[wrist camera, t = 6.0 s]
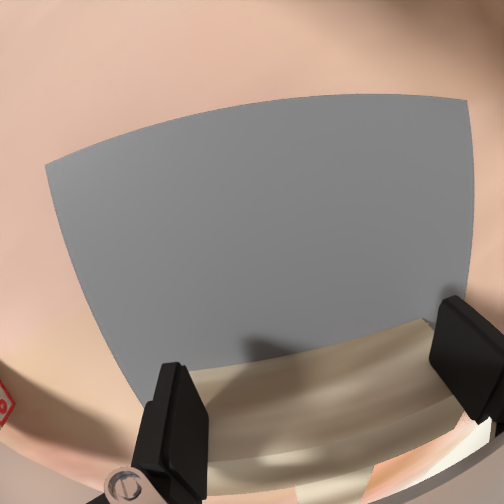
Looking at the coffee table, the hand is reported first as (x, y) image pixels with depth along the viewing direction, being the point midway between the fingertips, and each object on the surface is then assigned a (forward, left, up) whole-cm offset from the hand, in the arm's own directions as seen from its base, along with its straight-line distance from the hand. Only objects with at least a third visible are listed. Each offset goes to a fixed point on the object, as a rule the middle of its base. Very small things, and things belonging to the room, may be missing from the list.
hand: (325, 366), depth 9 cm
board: (+4, 0, -4) cm, 6 cm away
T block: (+7, 0, -3) cm, 8 cm away
